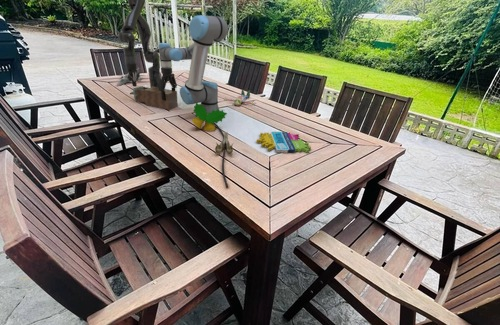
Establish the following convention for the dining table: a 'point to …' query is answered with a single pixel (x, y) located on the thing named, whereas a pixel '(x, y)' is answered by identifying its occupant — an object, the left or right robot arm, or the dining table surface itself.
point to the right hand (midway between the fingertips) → (169, 98)
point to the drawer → (139, 93)
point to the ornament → (207, 117)
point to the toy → (241, 99)
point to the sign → (283, 142)
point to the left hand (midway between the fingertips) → (134, 86)
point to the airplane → (127, 79)
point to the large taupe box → (160, 98)
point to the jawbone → (224, 145)
